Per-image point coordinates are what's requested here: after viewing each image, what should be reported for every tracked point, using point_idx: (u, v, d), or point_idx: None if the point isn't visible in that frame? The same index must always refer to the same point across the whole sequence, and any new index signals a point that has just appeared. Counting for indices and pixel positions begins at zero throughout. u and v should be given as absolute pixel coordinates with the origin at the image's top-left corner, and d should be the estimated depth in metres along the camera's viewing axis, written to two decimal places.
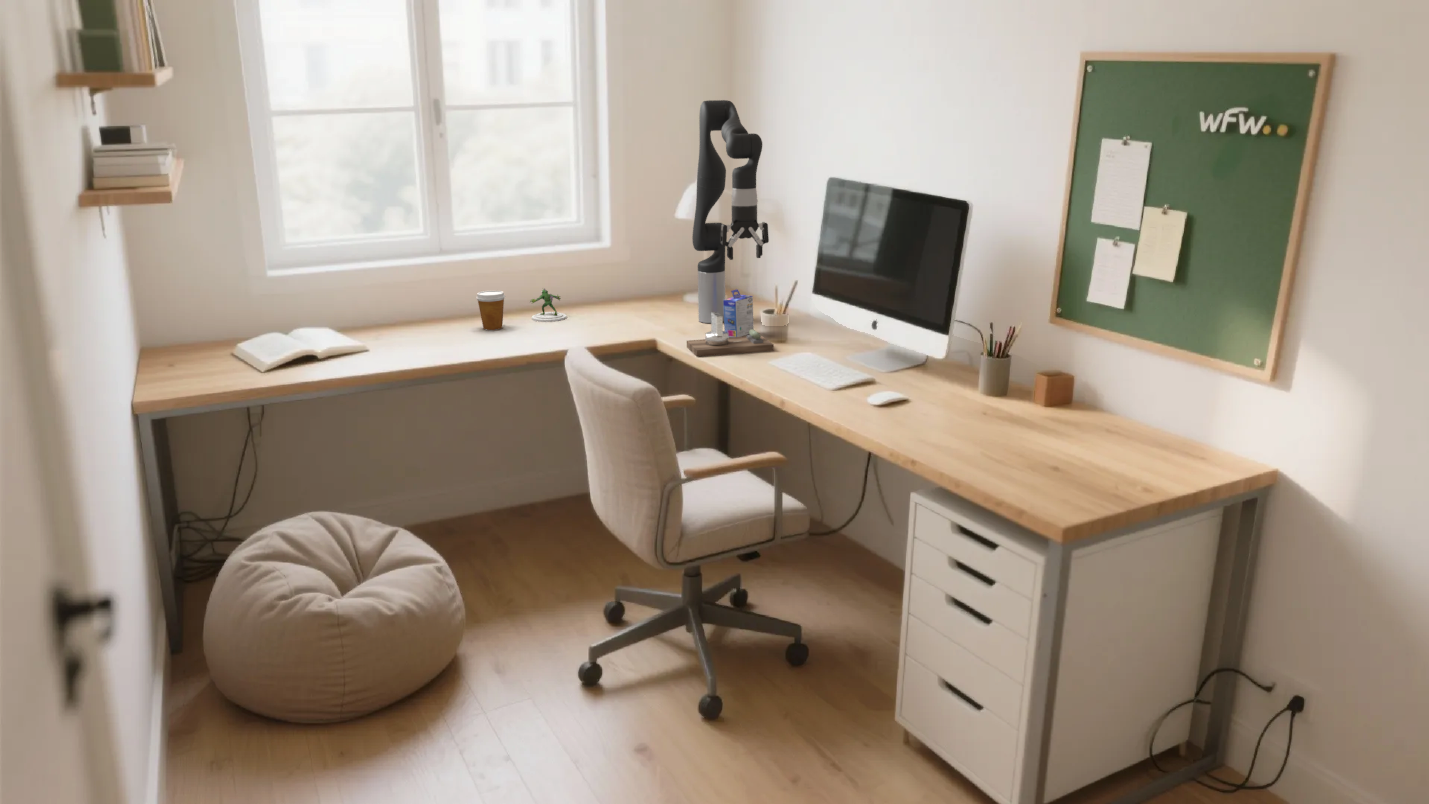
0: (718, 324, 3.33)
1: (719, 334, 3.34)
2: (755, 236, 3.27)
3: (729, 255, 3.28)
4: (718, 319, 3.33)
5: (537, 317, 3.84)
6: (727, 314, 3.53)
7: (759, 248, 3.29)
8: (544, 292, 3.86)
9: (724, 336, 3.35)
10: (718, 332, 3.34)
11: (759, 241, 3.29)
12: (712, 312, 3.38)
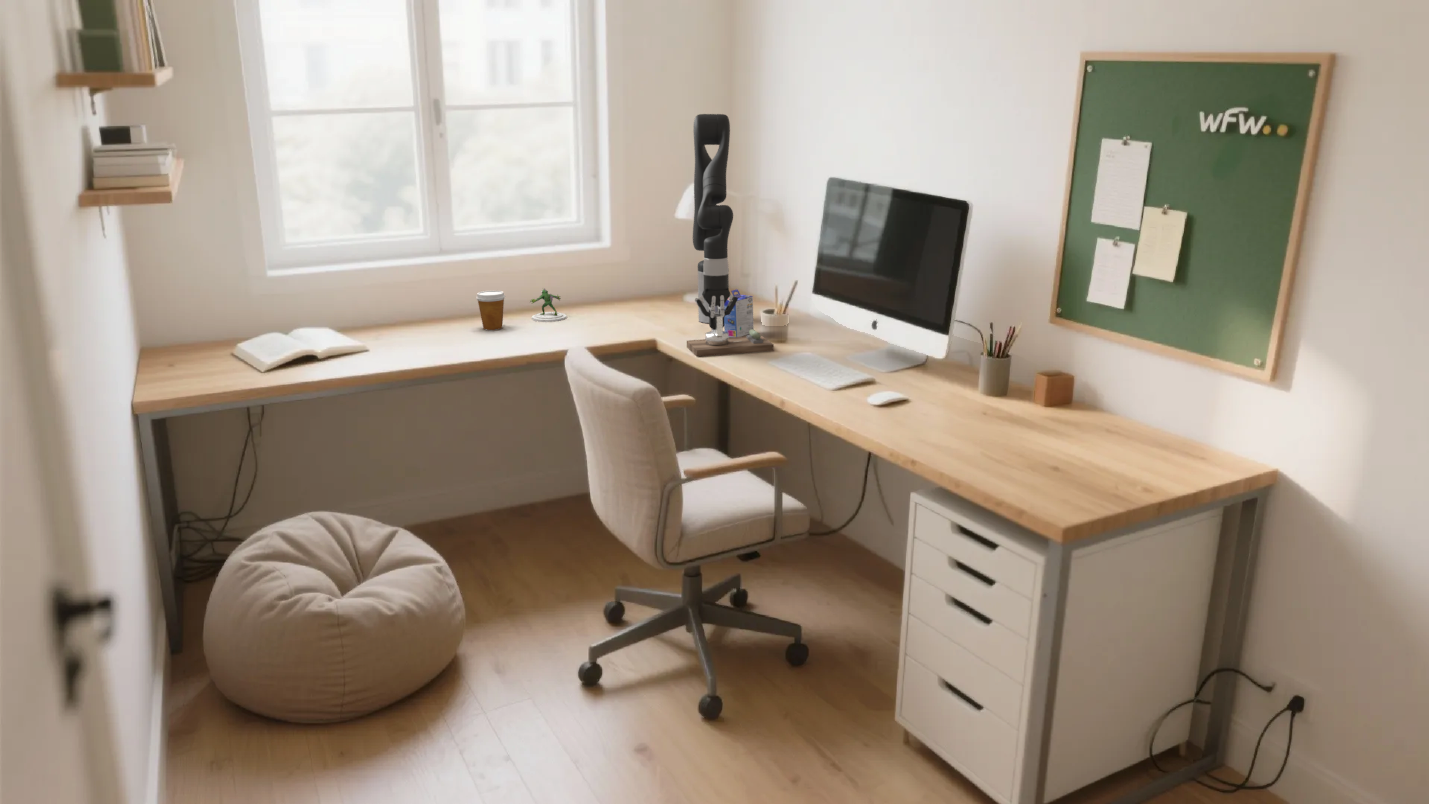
0: (718, 324, 3.33)
1: (719, 334, 3.34)
2: (722, 306, 3.34)
3: (711, 325, 3.36)
4: (718, 319, 3.33)
5: (537, 317, 3.84)
6: None
7: None
8: (544, 292, 3.86)
9: (724, 336, 3.35)
10: (718, 332, 3.34)
11: (722, 312, 3.35)
12: None
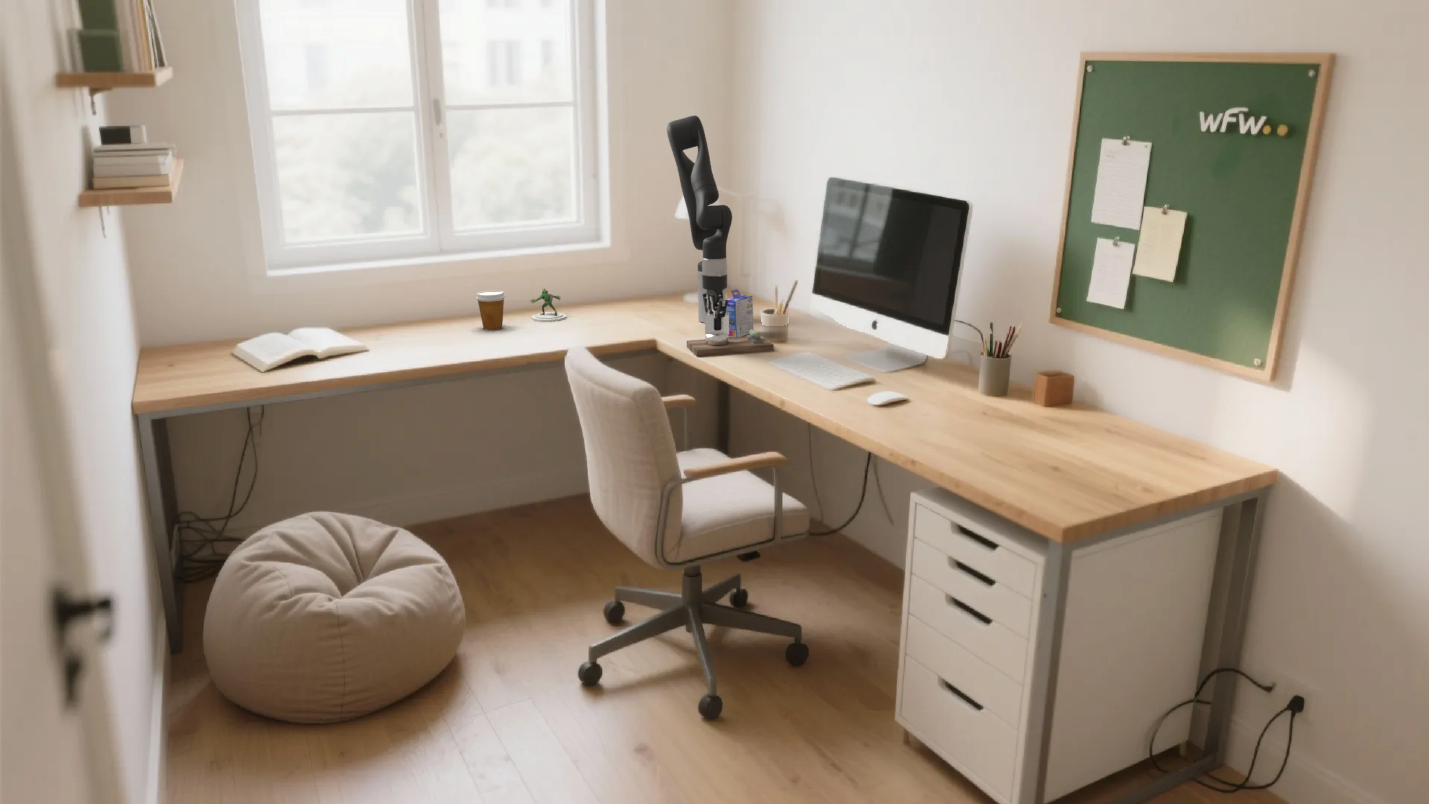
0: (728, 322, 3.36)
1: (728, 332, 3.37)
2: None
3: None
4: (728, 317, 3.36)
5: (537, 317, 3.84)
6: None
7: None
8: (544, 292, 3.86)
9: None
10: (728, 330, 3.37)
11: None
12: (707, 314, 3.36)
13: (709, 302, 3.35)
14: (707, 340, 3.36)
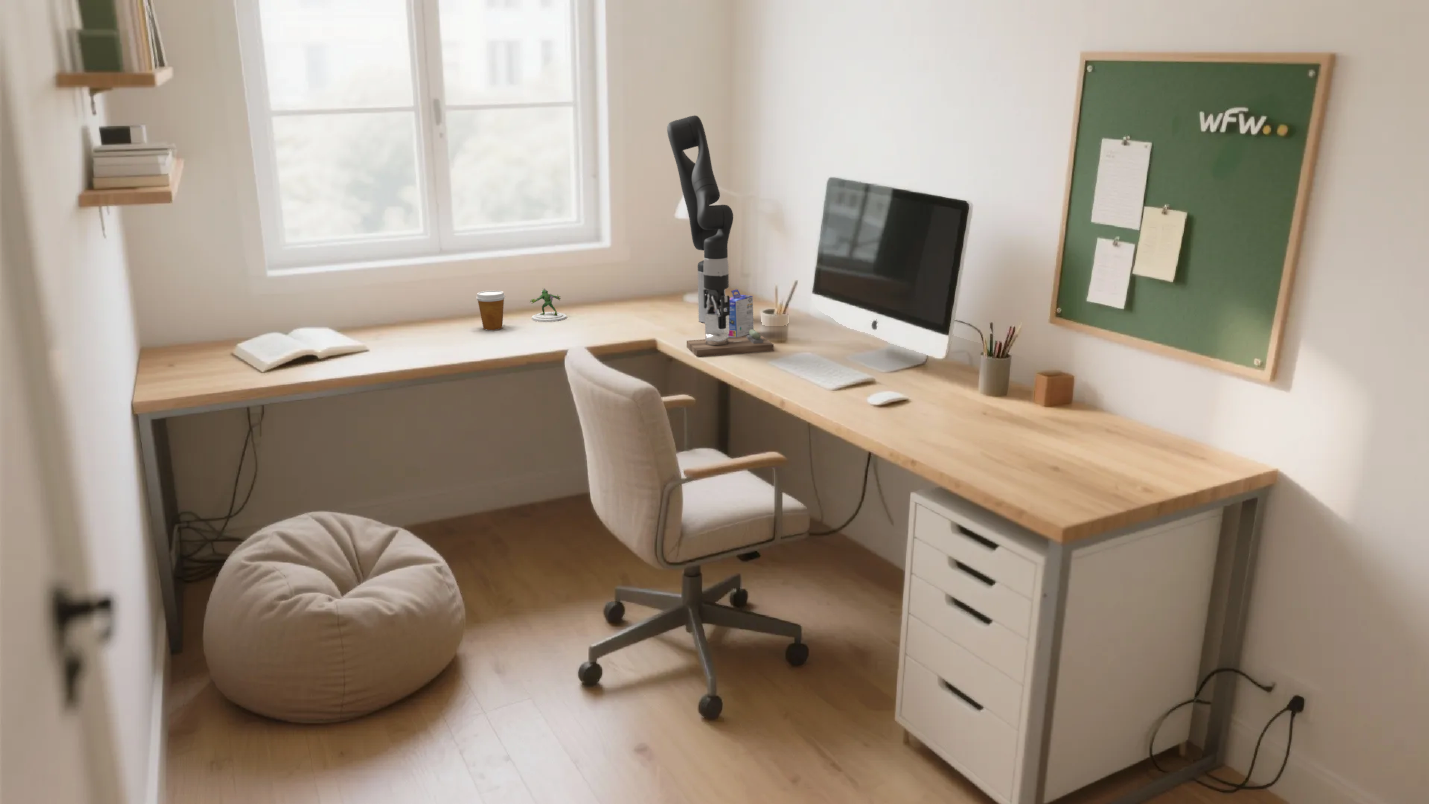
0: (728, 321, 3.36)
1: None
2: None
3: None
4: (728, 316, 3.36)
5: (537, 317, 3.84)
6: None
7: None
8: (544, 292, 3.86)
9: None
10: None
11: None
12: (707, 314, 3.35)
13: (709, 301, 3.36)
14: (708, 340, 3.36)
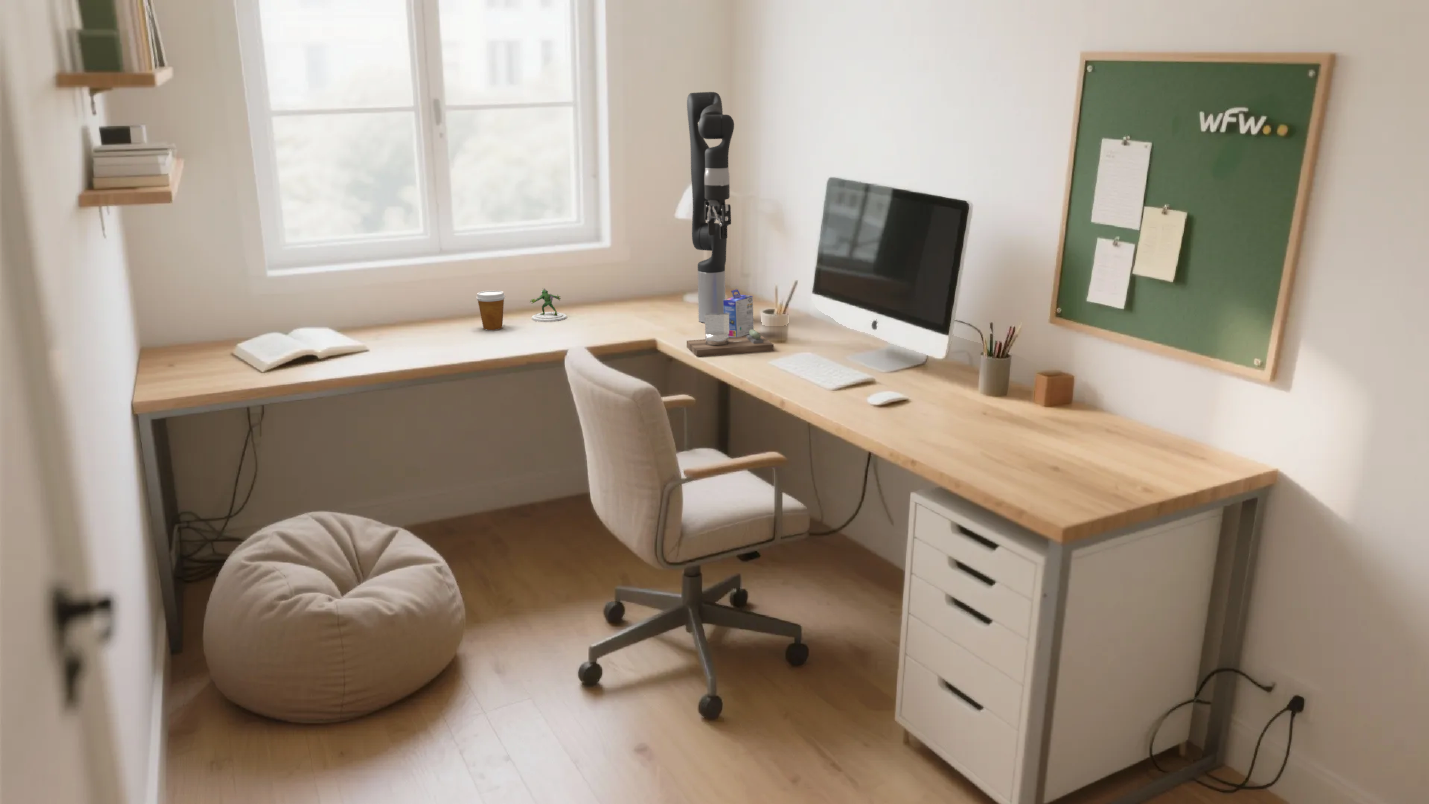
0: (728, 321, 3.37)
1: None
2: None
3: None
4: (728, 316, 3.36)
5: (537, 317, 3.84)
6: None
7: None
8: (544, 292, 3.86)
9: None
10: None
11: None
12: (707, 314, 3.35)
13: (710, 213, 3.38)
14: (708, 340, 3.36)
